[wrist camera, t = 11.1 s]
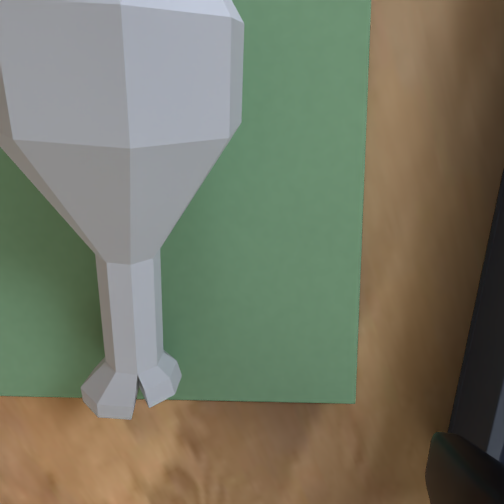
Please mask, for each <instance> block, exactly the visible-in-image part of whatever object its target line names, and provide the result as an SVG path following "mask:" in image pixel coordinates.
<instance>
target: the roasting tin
mask: <svg viewBox="0 0 504 504" xmlns="http://www.w3.org/2000/svg"><path fill="white" fill-rule="evenodd" d="M448 433H455V434H458V435H460V436H462V437H463V438H465V439H466V440H468V441H469V442H471V443H472V444H474V445H475V446H477V447H478V448H480V449H481V450H483V451H485V452H486V453H488V454H489V455H491V456H492V457H494V458H495V459H497V460H498V461H500V462H501V463H503V464H504V170H503V175H502V180H501V184H500V189H499V194H498V198H497V203H496V208H495V212H494V217H493V222H492V227H491V231H490V236H489V241H488V245H487V250H486V255H485V260H484V264H483V269H482V274H481V278H480V283H479V288H478V292H477V297H476V302H475V307H474V311H473V316H472V321H471V325H470V330H469V335H468V340H467V344H466V349H465V354H464V358H463V363H462V368H461V372H460V377H459V382H458V387H457V391H456V396H455V401H454V405H453V410H452V415H451V419H450V424H449V429H448Z"/></svg>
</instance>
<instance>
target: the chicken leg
mask: <svg viewBox="0 0 504 504" xmlns="http://www.w3.org/2000/svg"><path fill="white" fill-rule="evenodd" d="M243 53H244V22H243V20H242V18H241V17H240V15H239V13H238V11H237V9H236V7H235V6H234V4H233V2H232V0H0V147H1V148H2V149H3V151H4V152H5V153H6V154H7V155H8V156H9V157H10V158H11V160H12V161H13V162H14V163H15V164H16V165H17V166H18V167H19V169H20V170H21V171H22V172H23V173H24V174H25V175H26V177H27V178H28V179H29V180H30V181H31V182H32V183H33V184H34V186H35V187H36V188H37V189H38V190H39V191H40V192H41V193H42V195H43V196H44V197H45V198H46V199H47V200H48V201H49V202H50V204H51V205H52V206H53V207H54V208H55V209H56V210H57V212H58V213H59V214H60V215H61V216H62V217H63V218H64V219H65V221H66V222H67V223H68V224H69V225H70V226H71V227H72V228H73V230H74V231H75V232H76V233H77V234H78V235H79V236H80V238H81V239H82V240H83V241H84V242H85V243H86V244H87V245H88V247H89V248H90V249H91V250H92V251H93V252H94V253H95V258H96V268H97V279H98V289H99V299H100V310H101V320H102V330H103V340H104V351H105V358H104V359H103V360H102V361H101V362H100V363H99V364H98V365H97V366H96V367H95V368H94V370H93V371H92V372H91V374H90V375H89V376H88V378H87V379H86V381H85V382H84V383H83V385H82V386H81V393H82V398H83V402H84V403H85V404H86V405H87V406H88V407H89V408H90V409H91V410H92V411H93V412H94V413H95V414H96V416H97V417H101V418H114V419H128V420H131V419H132V415H133V411H134V407H135V402H136V398H137V394H138V389H139V388H140V390H141V392H142V394H143V396H144V398H145V400H146V402H147V404H148V407H149V408H150V407H152V406H154V405H156V404H158V403H160V402H162V401H164V400H166V399H167V398H169V397H171V396H173V395H175V393H176V390H177V388H178V385H179V382H180V380H181V377H182V374H181V371H180V368H179V365H178V363H177V360H175V359H174V358H173V357H172V356H171V355H169V354H168V353H167V352H166V351H165V350H163V321H162V289H161V258H160V248H161V247H162V245H163V243H164V242H165V240H166V239H167V237H168V236H169V234H170V233H171V231H172V229H173V228H174V226H175V225H176V223H177V222H178V220H179V219H180V217H181V216H182V214H183V212H184V211H185V209H186V208H187V206H188V205H189V203H190V202H191V200H192V198H193V197H194V195H195V194H196V192H197V191H198V189H199V188H200V186H201V185H202V183H203V181H204V180H205V178H206V177H207V175H208V174H209V172H210V171H211V169H212V167H213V166H214V164H215V163H216V161H217V160H218V158H219V157H220V155H221V153H222V152H223V150H224V149H225V147H226V146H227V144H228V143H229V141H230V140H231V138H232V136H233V135H234V133H235V132H236V130H237V129H238V127H239V126H240V124H241V122H242V87H243Z"/></svg>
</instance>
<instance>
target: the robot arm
mask: <svg viewBox="0 0 504 504" xmlns="http://www.w3.org/2000/svg"><path fill="white" fill-rule="evenodd" d="M425 480H426V486H427V491H428V495H429V499H430V503H431V504H504V464H503V463H501V462H500V461H498V460H497V459H495V458H494V457H492V456H491V455H489V454H488V453H486V452H485V451H483V450H481V449H480V448H478V447H477V446H475V445H474V444H472V443H471V442H469V441H468V440H466V439H465V438H463V437H462V436H460V435H458V434H455V433H446V432H436V433H435V434H434V435H433V437H432V439H431V444H430V450H429V455H428V460H427V466H426V472H425Z"/></svg>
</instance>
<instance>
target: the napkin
mask: <svg viewBox="0 0 504 504" xmlns="http://www.w3.org/2000/svg"><path fill="white" fill-rule="evenodd" d="M232 2H233V4H234V6H235V7H236V9H237V11H238V13H239V15H240V17H241V18H242V20H243V22H244V53H243V87H242V122H241V124H240V126H239V127H238V129H237V130H236V132H235V133H234V135H233V136H232V138H231V140H230V141H229V143H228V144H227V146H226V147H225V149H224V150H223V152H222V153H221V155H220V157H219V158H218V160H217V161H216V163H215V164H214V166H213V167H212V169H211V171H210V172H209V174H208V175H207V177H206V178H205V180H204V181H203V183H202V185H201V186H200V188H199V189H198V191H197V192H196V194H195V195H194V197H193V198H192V200H191V202H190V203H189V205H188V206H187V208H186V209H185V211H184V212H183V214H182V216H181V217H180V219H179V220H178V222H177V223H176V225H175V226H174V228H173V229H172V231H171V233H170V234H169V236H168V237H167V239H166V240H165V242H164V243H163V245H162V247H161V248H160V258H161V289H162V321H163V350H165V351H166V352H167V353H168V354H169V355H171V356H172V357H173V358H174V359H175V360H177V363H178V365H179V368H180V371H181V374H182V377H181V380H180V382H179V385H178V388H177V390H176V393H175V395H173V396H171V397H169V398H167V399H166V400H210V401H255V402H300V403H345V404H355V398H356V373H357V347H358V322H359V296H360V271H361V245H362V220H363V194H364V169H365V143H366V118H367V92H368V67H369V41H370V16H371V0H232ZM104 358H105V351H104V340H103V330H102V320H101V310H100V299H99V289H98V279H97V268H96V258H95V253H94V252H93V251H92V250H91V249H90V248H89V247H88V245H87V244H86V243H85V242H84V241H83V240H82V239H81V238H80V236H79V235H78V234H77V233H76V232H75V231H74V230H73V228H72V227H71V226H70V225H69V224H68V223H67V222H66V221H65V219H64V218H63V217H62V216H61V215H60V214H59V213H58V212H57V210H56V209H55V208H54V207H53V206H52V205H51V204H50V202H49V201H48V200H47V199H46V198H45V197H44V196H43V195H42V193H41V192H40V191H39V190H38V189H37V188H36V187H35V186H34V184H33V183H32V182H31V181H30V180H29V179H28V178H27V177H26V175H25V174H24V173H23V172H22V171H21V170H20V169H19V167H18V166H17V165H16V164H15V163H14V162H13V161H12V160H11V158H10V157H9V156H8V155H7V154H6V153H5V152H4V151H3V149H2V148H1V147H0V396H30V397H75V398H82V393H81V386H82V385H83V383H84V382H85V381H86V379H87V378H88V376H89V375H90V374H91V372H92V371H93V370H94V368H95V367H96V366H97V365H98V364H99V363H100V362H101V361H102V360H103V359H104ZM136 399H145V398H144V396H143V394H142V392H141V390H140V388H139V389H138V394H137V398H136Z"/></svg>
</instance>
